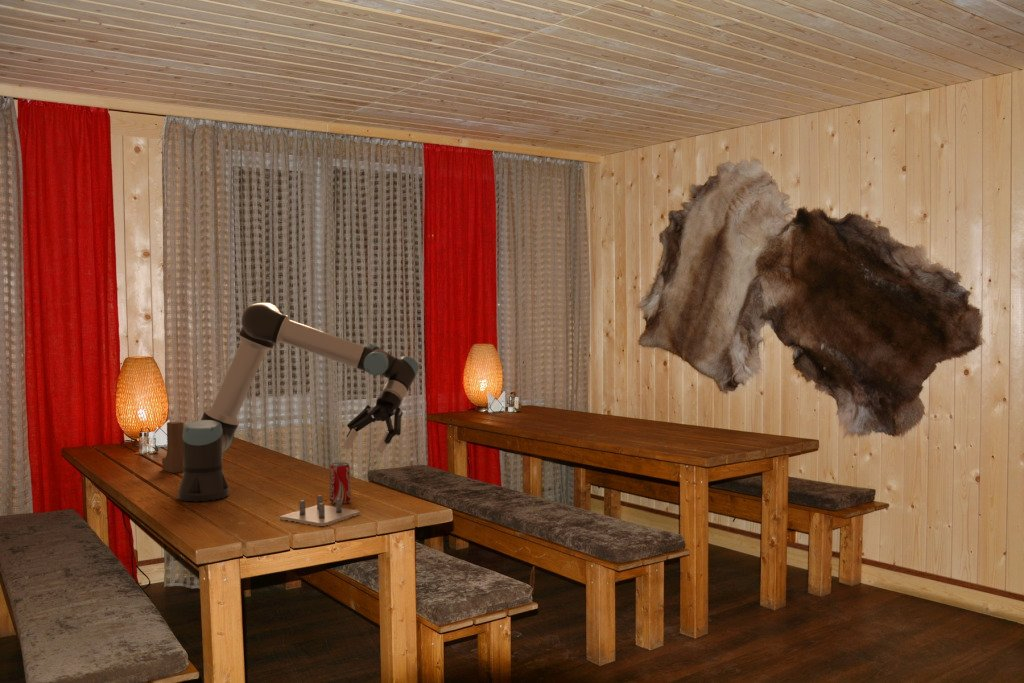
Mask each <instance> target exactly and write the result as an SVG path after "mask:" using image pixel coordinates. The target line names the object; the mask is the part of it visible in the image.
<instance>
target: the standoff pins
mask: <svg viewBox="0 0 1024 683" xmlns="http://www.w3.org/2000/svg"><path fill="white" fill-rule="evenodd" d="M323 498H324V496H323V495H321V494H318V495H316V505H317V510H319V518H320V519H323V518H325V503H324V502H323V501H324V499H323ZM298 504H299V510H300V515H305V508H306V500H304V499H301V500H299V503H298ZM342 506H343V504H342V498H336V504H335V507H336V513H342V508H343V507H342Z"/></svg>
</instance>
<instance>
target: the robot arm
mask: <svg viewBox="0 0 1024 683" xmlns="http://www.w3.org/2000/svg"><path fill="white" fill-rule="evenodd" d="M241 316H242V317H241V326H242V327H241V329H240V331H239V334H238V336H239V338H240V343H239V346H238V347H237V350H236V352H235V354H234V356H233V359H232V361H231V363H230V365H229V367H228V370H227V372H226V374H225V376H224V379H223V380H222V384H221V385H220V388H219V390H218V393H217V395H216V397H215V399H214V402H213V403H212V405H211V407H210V408H207V409H205V410H204V411H203V414H202V417H201V418H200V420H196V421H191V422H189V423H187V424H184V428H183V434H182V439H183V466H184V472H183V474H182V477H181V481H180V484H179V487H178V491H177V499H178V500H179V499H180V500H179V501H182V500H183V501H182V502H188V501H193V502H192V503H197V502H198V501H202V502H210V501H209V500H212V501H217V500H216V499H218V500H221V499H220V498H222V499H224V497H225V498H227V497H228V496H229V495H230V487H229V485H228V482H227V480H226V476H225V474H224V468H223V464H224V463H223V461H224V460H223V457H224V456H223V455H224V454H223V453H225V452H227V450H229V449H230V448H231V447H232V445H233V442H234V440H235V433H236V431H237V430H238V426H239V424H240V422H239V420H238V415H239V413H240V410H241V408H242V406H243V404H244V402H245V399H246V397H247V395H248V392H249V391H250V388H251V386H252V385H253V382H254V378H255V376H256V375H257V373H258V371H259V368H260V365H261V363H262V361H263V359H264V357H265V354H266V352H267V351H270V350H272V349H273V348H274V346H275V344H276V345H279V344H281V343H283V344H286V345H289V346H291V347H294V348H297V349H299V350H302V351H306V352H309V353H312V354H313V355H314V354H315V355H317V356H321V357H323V358H326V359H329V360H331V361H334V362H338V363H341V364H343V365H346V366H350V367H352V368H356V369H358V370H360V371H363V372H367V373H368V374H369V375H371V376H375V377H376V376H383V377H384V378H386V379H387V381H386V383H385V385H384V386H383V388H382V390H381V392H380V393H379V395H378V397H377V398H376V402H375V405H374V406H373V407H372V406H370V405H369V404H367V405H366V406H365V408H363V410H362V411H361V412H359V414H358V415H356V416H355V417H354V418H352V420H351V421H350V422H349V423H348V424H347V425H346V427H348V429H349V431H348V433H347V435H346V439H345V440H344V442H343V444H342V445H343V447H345V449H346V450H347V451H349V450H350V449H351V447H352V445H353V443H354V442H355V439H356V438H357V436H358V432H359V431H361V430H363V429H364V428H365V427H367V426H368V425H370V424H371V423H375V422H376V421H377V422H379V421H380V422H385V423H386V427H387V428H386V429H387V431H385V432H384V434H383V436H382V438H381V439H380V442H379V443H378V445H377V447H376V449H377V451H378V452H379V453H380V454H383V453H384V451H385V449H386V448H387V445H389V444H390V443H391V442H392V439H393V438H394V437H395V436H396V435H397V436H400V435H401V431H402V429H401V428H402V426H401V425H402V416H403V415H404V412H403V411H402V410H401V408H400V406H401V404H402V402H403V400H404V398H405V396H406V395H407V392H408V391H409V389H410V387H411V386H412V384H413V382H414V381H415V378H416V377H417V375H418V372H419V370H420V365H419V362H418V361H417V360H416V359H414V358H413V357H411V356H410V357H409V356H405V355H403V356H401V357H400V358H397V357H396V356H394V355H392V354H390V353H389V352H387V351H385V350H384V349H382V348H380V347H379V346H377V345H374V344H373V343H368V344H367V345H365V346H364V345H362V344H360V343H356V342H354V341H350V340H348V339H344V338H342V337H340V336H336V335H334V334H330V333H328V332H326V331H324V330H323V331H322V330H320V329H317V328H314V327H311V326H308V325H306V324H302V323H300V322H297V321H295V320H291V319H290V317H289V316H288V315H287V314H284V313H283V311H282V310H281V309H280V307H278V306H277V305H275V304H274V303H270V302H258V303H253V304H251V305H249V306H248V307H247V308H246V309H244V311H243V313H242V315H241ZM392 417H394V418H393V421H392ZM226 496H227V497H226ZM198 503H199V502H198Z"/></svg>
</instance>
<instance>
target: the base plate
mask: <svg viewBox="0 0 1024 683" xmlns="http://www.w3.org/2000/svg"><path fill="white" fill-rule="evenodd" d="M360 513H361V514H362V510H357V509H350V508H344V507H342V513H336V506H332V505H325V518H323V519H320V518H319V510H317V504H315V505H313V506H310V507H305V515H300V509H299V510H296V511H292V512H290V513H286V514H283V515H282V514H281V515H280V516H279V520H280V519H282V520H281V521H285V520H288V521H287V522H291V521H294V522H293V523H296V522H300V523H299V524H302V523H305V524H304V525H308V524H310V525H309V526H314V525H316V526H315V527H319V526H325V527H327V526H326V525H328V526H330V525H329V524H331V523H334V524H336V523H335V522H337V523H339V522H338V521H340V522H342V521H341V520H343V521H345V520H344V519H346V520H348V519H347V518H349V517H352V516H354V515H357V514H360ZM352 518H353V517H352ZM349 519H350V518H349ZM331 525H332V524H331Z"/></svg>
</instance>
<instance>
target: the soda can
mask: <svg viewBox="0 0 1024 683" xmlns="http://www.w3.org/2000/svg"><path fill="white" fill-rule="evenodd" d="M351 494H352V492H351V466H350V465H349V463H348V462H344V461H343V462H334V463H333V462H332V463H331V464H330V467H329V502H331V504H333V503H335V504H334V505H336V498H342V503H346V504H348V503H350V501H351V500H352V499H351V498H352V495H351ZM347 502H348V503H347Z"/></svg>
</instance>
